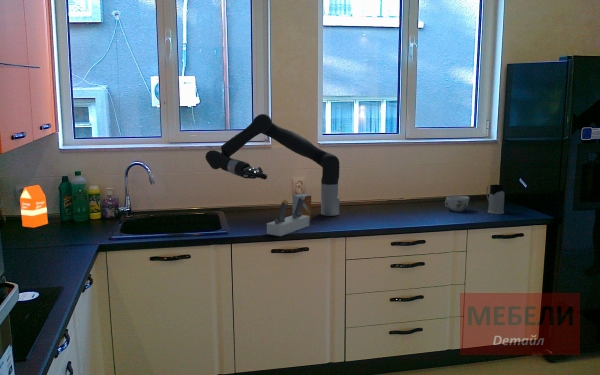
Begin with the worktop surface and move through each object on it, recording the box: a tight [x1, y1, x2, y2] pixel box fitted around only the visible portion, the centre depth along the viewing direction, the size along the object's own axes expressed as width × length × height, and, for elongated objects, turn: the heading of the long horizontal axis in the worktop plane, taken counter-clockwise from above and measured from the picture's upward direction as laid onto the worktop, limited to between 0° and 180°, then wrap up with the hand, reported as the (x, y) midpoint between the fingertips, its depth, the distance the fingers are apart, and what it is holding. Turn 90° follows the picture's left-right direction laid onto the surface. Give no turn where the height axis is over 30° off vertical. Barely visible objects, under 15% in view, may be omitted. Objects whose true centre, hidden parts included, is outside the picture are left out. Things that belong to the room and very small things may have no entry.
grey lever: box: [294, 195, 305, 217], centre depth 256 cm, size 3×4×12 cm
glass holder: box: [485, 184, 506, 215], centre depth 292 cm, size 9×14×15 cm, turn 14°
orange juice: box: [19, 184, 49, 228], centre depth 263 cm, size 8×9×20 cm
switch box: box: [266, 212, 310, 237], centre depth 253 cm, size 8×24×7 cm, turn 145°
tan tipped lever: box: [276, 199, 289, 222], centre depth 245 cm, size 3×4×12 cm
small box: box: [291, 193, 312, 221], centre depth 274 cm, size 8×6×13 cm
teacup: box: [444, 194, 471, 212], centre depth 294 cm, size 15×12×8 cm
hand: (266, 177), depth 250 cm, fingers closed
